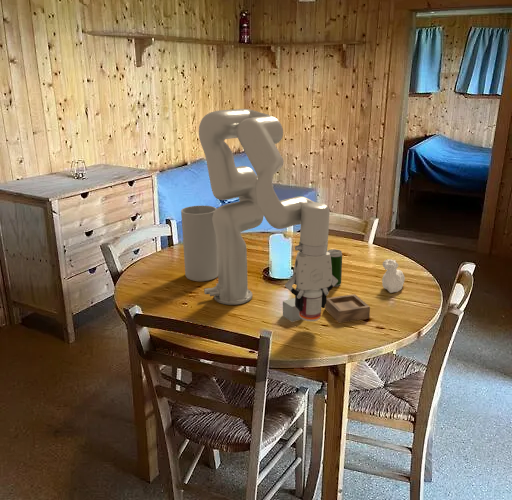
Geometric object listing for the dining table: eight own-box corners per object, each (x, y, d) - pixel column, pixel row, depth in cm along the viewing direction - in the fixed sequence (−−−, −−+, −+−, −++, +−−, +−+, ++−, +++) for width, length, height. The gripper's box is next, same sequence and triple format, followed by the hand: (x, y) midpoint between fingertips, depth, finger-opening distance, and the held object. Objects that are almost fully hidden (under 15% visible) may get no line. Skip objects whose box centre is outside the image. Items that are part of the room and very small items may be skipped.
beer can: (332, 288, 179) (333, 255, 175) (322, 283, 183) (323, 251, 179) (344, 284, 182) (345, 252, 178) (334, 280, 186) (335, 248, 182)
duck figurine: (398, 288, 183) (382, 261, 184) (416, 280, 178) (398, 251, 179) (383, 300, 174) (365, 270, 175) (401, 291, 169) (382, 261, 170)
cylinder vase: (216, 268, 200) (213, 204, 192) (222, 280, 188) (219, 212, 180) (183, 271, 197) (179, 207, 189) (187, 283, 185) (183, 215, 177)
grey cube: (292, 322, 155) (292, 306, 154) (282, 316, 159) (282, 301, 158) (305, 318, 158) (306, 303, 156) (296, 312, 162) (296, 297, 160)
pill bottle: (297, 312, 152) (299, 276, 148) (318, 311, 153) (320, 276, 149) (301, 322, 146) (302, 285, 142) (322, 321, 147) (325, 284, 143)
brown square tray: (338, 322, 154) (339, 311, 153) (325, 309, 163) (325, 298, 162) (369, 318, 157) (369, 306, 155) (354, 304, 166) (354, 294, 165)
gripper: (288, 255, 137) (286, 317, 143) (348, 250, 141) (344, 309, 147) (279, 246, 143) (277, 305, 149) (336, 241, 148) (333, 298, 154)
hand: (310, 307), depth 148 cm, fingers closed on pill bottle, 6 cm apart
